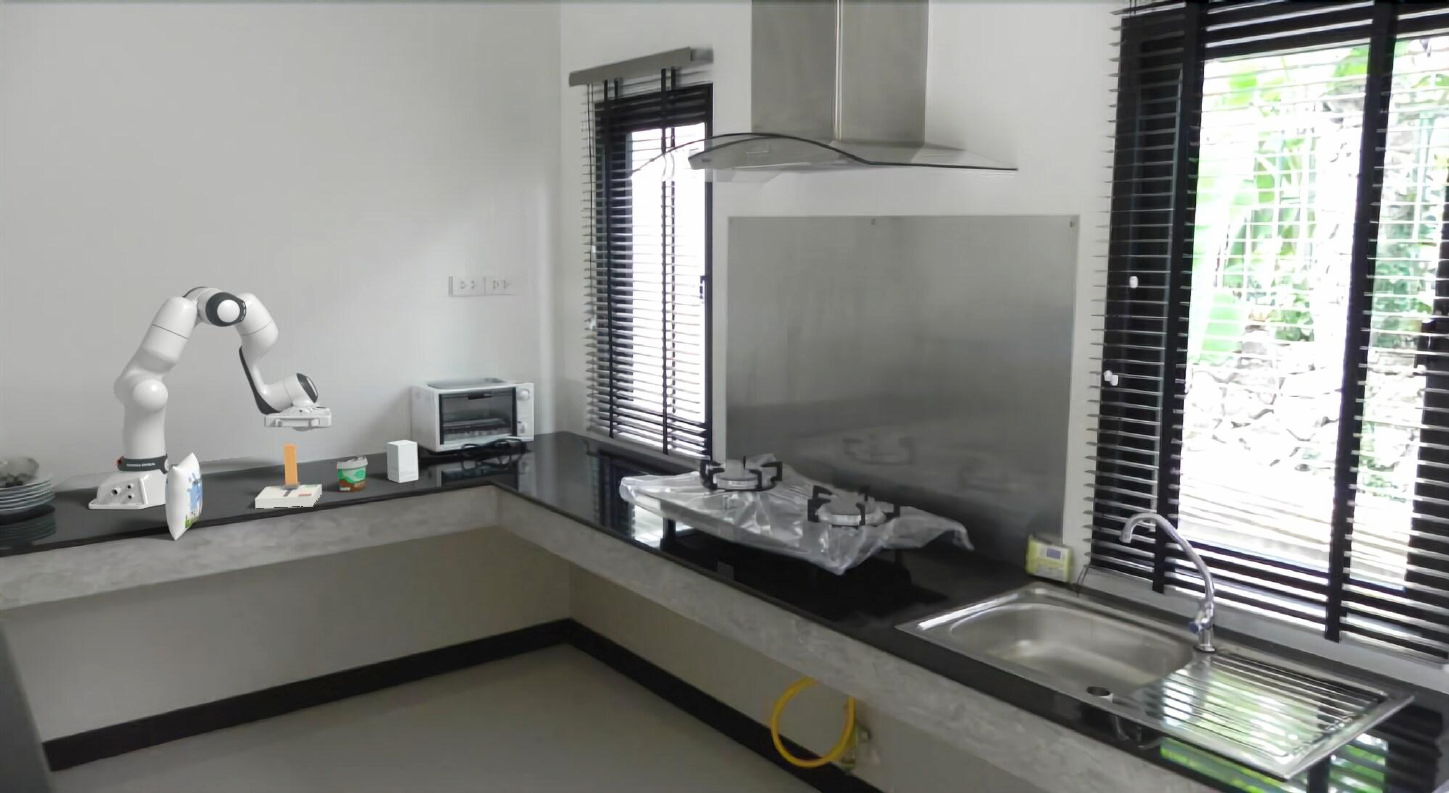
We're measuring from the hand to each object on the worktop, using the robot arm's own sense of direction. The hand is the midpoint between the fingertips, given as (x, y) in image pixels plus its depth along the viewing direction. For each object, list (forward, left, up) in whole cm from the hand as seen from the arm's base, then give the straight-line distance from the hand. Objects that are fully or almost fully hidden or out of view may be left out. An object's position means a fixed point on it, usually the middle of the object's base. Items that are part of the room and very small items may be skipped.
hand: (294, 424), depth 332 cm
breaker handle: (0, -11, -18) cm, 21 cm away
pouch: (-21, -45, -21) cm, 54 cm away
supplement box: (+31, +9, -21) cm, 39 cm away
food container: (+18, -3, -21) cm, 28 cm away
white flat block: (0, -15, -21) cm, 26 cm away
